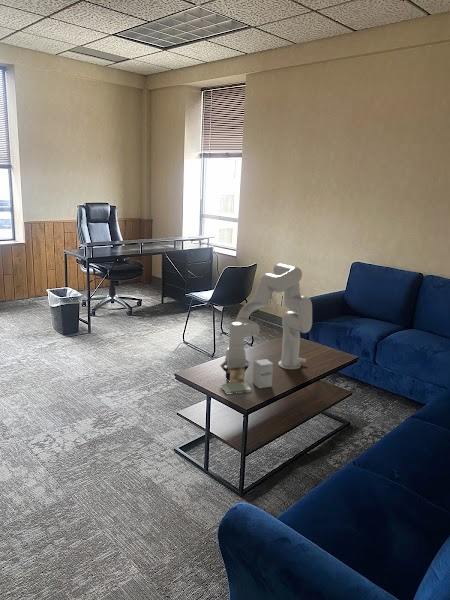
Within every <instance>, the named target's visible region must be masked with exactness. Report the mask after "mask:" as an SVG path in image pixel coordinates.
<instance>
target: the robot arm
mask: <svg viewBox="0 0 450 600" xmlns="http://www.w3.org/2000/svg"><path fill="white" fill-rule="evenodd" d="M272 271H273V273H268V272H267V273H264V274H262V276H261V278H260V280H259V282H258V285H257V286H256V289H255V291H254V293H253V296H252V298H250V300H249V301H247V302H246V304H244V305H243V306H242V307H241V309H240V310H239V311H238V313H237V316H236V319H235V321H233V322H231V323H230V324H229V334H228V335H229V337H228V341H229V342H228V347H227V349H226V353H225V360H224V361H223V362H222V363H221V364H220V367H221V368H222V370H223V371H224V372H225V378H227V379H226V380H227V381H228V380H230V373H229V371H230V369H231V368H242V369H243V370H244V377H245V373H246V371H247V370H248V368H249V367H250V365H251V364H252V363H251V362H250V361H248V359H247V355H246V348H245V347H246V346H247V343H245V337H254V336H256V335H258V334H259V332H260V331H261V329H260V324H259V323H257V322H255V321H253V320H250V319H249V317H250V316H251V314H252V313H253V312H254V311H256V310H259V309H261V308H262V309H263V308H265V307H267V306H268V304H269V302H270V300H271V298H272V295H273V293H274V292H275V293H284V294H283V296H284V297H283V299H284V300H283V301H284V302H283V303H284V307H285V308H286V309H287V310H288V311H285V312H284V314H283V315H282V317H281V319H282V320H281V324H282V345H281V347H282V348H281V359H280V360H279V361H278V366H279V367H280V368H282V369H285V370H298V369H300V368H301V366H302V364H301V363H306V362H307V358H302V357H299V355H300V344H301V333H303V334H306V333H309V332H310V331H311V329H312V325H313V303H312V301H311V298H309V296H306V295H302V294H301V288H300V281H301V280H302V277H303V272H302V269H301V268H300V267H298V266H294V265H289V264H287V263H286V264H285V263H277V264H275V265H274V266H273V270H272ZM225 366H226V367H225Z"/></svg>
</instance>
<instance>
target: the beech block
mask: <svg viewBox="0 0 450 600" xmlns="http://www.w3.org/2000/svg"><path fill="white" fill-rule="evenodd" d="M229 373H230V380H229V381H230V383H238V382H245V376H244V370H243V369H242V368H231V369H230V371H229Z"/></svg>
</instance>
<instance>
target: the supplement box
mask: <svg viewBox="0 0 450 600" xmlns="http://www.w3.org/2000/svg"><path fill="white" fill-rule="evenodd" d="M273 373H274V363H273V362H272V361H270V360H269V359H268V358H265V359H257V360H253V373H252V374H253V377H252V384H254V385H255V386H256V387H257V388H258V389H259V388H260V389H264V388H270V387H272V386H273Z"/></svg>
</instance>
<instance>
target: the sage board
mask: <svg viewBox="0 0 450 600" xmlns="http://www.w3.org/2000/svg"><path fill="white" fill-rule="evenodd" d="M221 386H222V388H223V389H224V391H225V392H226V393H236V392H237V393H238V392H247V393H252V388H251V387H250V386H249V384H248V383H247V382H246V381H244V382H238V383H229V382H228V383H221V384H220V387H221ZM222 388H221V389H222ZM224 391H223V392H224ZM238 394H239V393H238Z"/></svg>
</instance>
